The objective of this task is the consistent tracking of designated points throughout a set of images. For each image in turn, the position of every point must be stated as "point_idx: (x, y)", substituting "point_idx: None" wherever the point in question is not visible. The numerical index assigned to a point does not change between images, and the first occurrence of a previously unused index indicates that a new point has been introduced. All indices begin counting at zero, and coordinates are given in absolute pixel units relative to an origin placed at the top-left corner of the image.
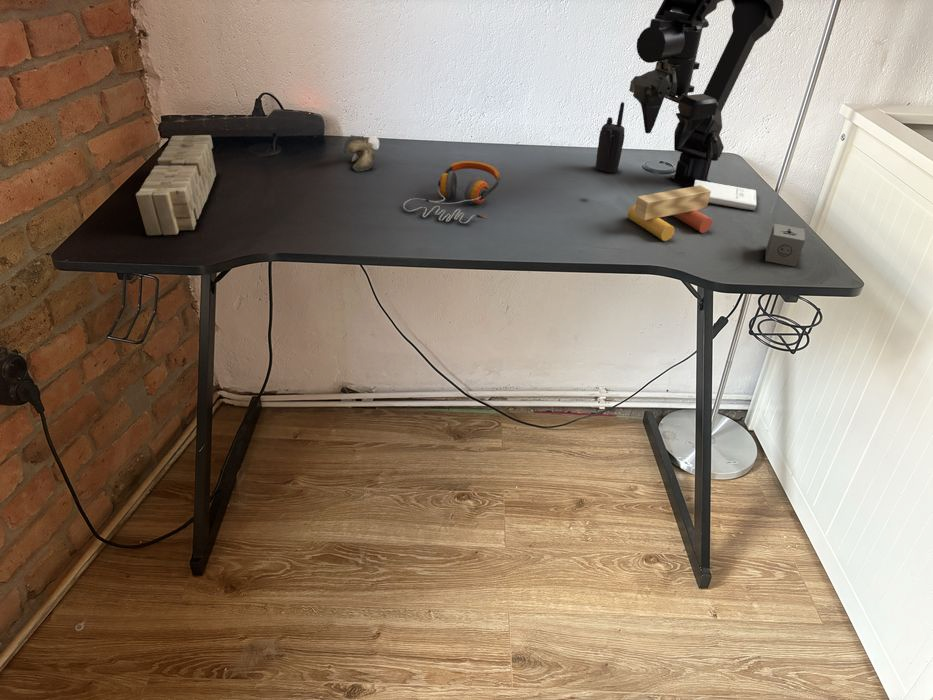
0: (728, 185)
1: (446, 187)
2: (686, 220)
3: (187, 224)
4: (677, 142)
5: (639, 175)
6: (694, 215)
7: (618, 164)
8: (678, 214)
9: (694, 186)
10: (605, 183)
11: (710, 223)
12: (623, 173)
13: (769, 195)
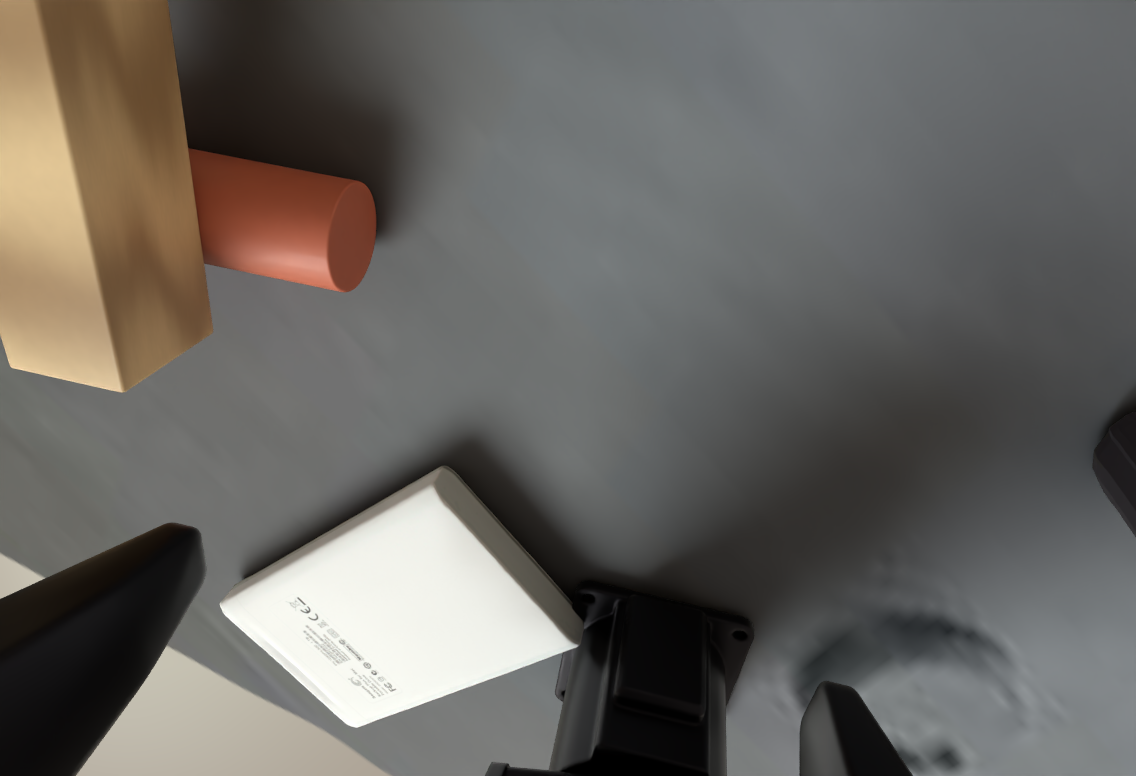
0: (438, 693)
1: None
2: None
3: None
4: (102, 563)
5: (921, 536)
6: None
7: (1116, 501)
8: (206, 153)
9: (102, 332)
10: (1034, 225)
11: None
12: (1035, 486)
13: (357, 745)
